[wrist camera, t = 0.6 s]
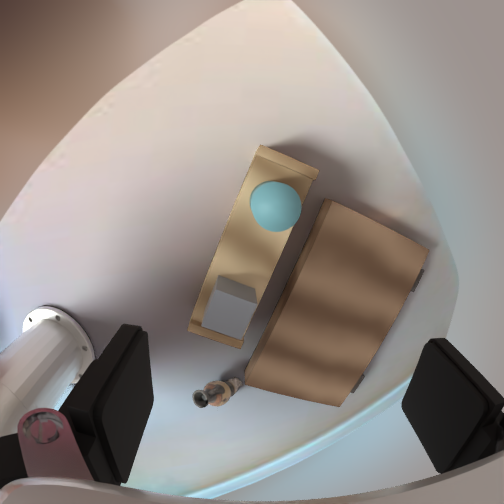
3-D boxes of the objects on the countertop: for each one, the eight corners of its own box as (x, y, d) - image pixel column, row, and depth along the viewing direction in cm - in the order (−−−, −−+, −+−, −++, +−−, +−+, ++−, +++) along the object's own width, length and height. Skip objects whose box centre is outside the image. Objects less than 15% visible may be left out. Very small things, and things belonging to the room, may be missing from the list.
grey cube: (240, 321, 33) (241, 340, 29) (205, 308, 32) (201, 326, 28) (255, 288, 32) (257, 304, 28) (218, 274, 31) (215, 289, 27)
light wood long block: (239, 325, 38) (240, 348, 32) (193, 309, 37) (187, 330, 32) (307, 170, 34) (319, 170, 28) (257, 149, 33) (260, 144, 27)
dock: (339, 395, 41) (345, 408, 38) (244, 370, 39) (245, 384, 36) (422, 247, 36) (435, 253, 33) (325, 198, 34) (332, 200, 31)
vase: (187, 382, 39) (182, 408, 34) (211, 356, 39) (209, 381, 33) (218, 401, 40) (218, 428, 35) (243, 378, 40) (246, 404, 34)
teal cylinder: (281, 228, 30) (289, 239, 26) (243, 212, 30) (244, 221, 25) (297, 190, 30) (309, 194, 25) (259, 174, 29) (263, 174, 24)
